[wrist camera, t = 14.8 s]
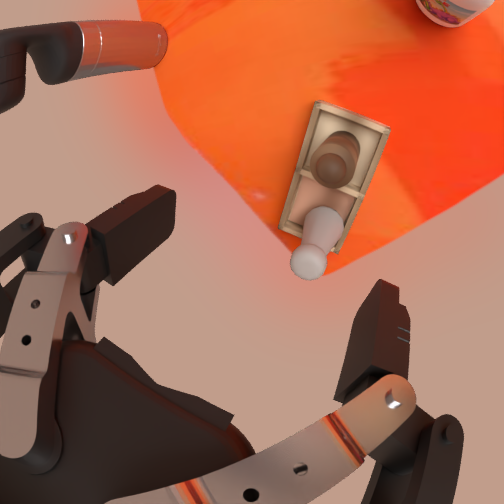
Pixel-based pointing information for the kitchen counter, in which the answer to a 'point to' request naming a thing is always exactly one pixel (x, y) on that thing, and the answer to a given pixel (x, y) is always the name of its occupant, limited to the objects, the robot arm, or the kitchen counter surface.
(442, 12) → the milk bottle
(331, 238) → the salt shaker
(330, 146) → the pepper mill
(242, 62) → the kitchen counter surface
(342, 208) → the spice rack
